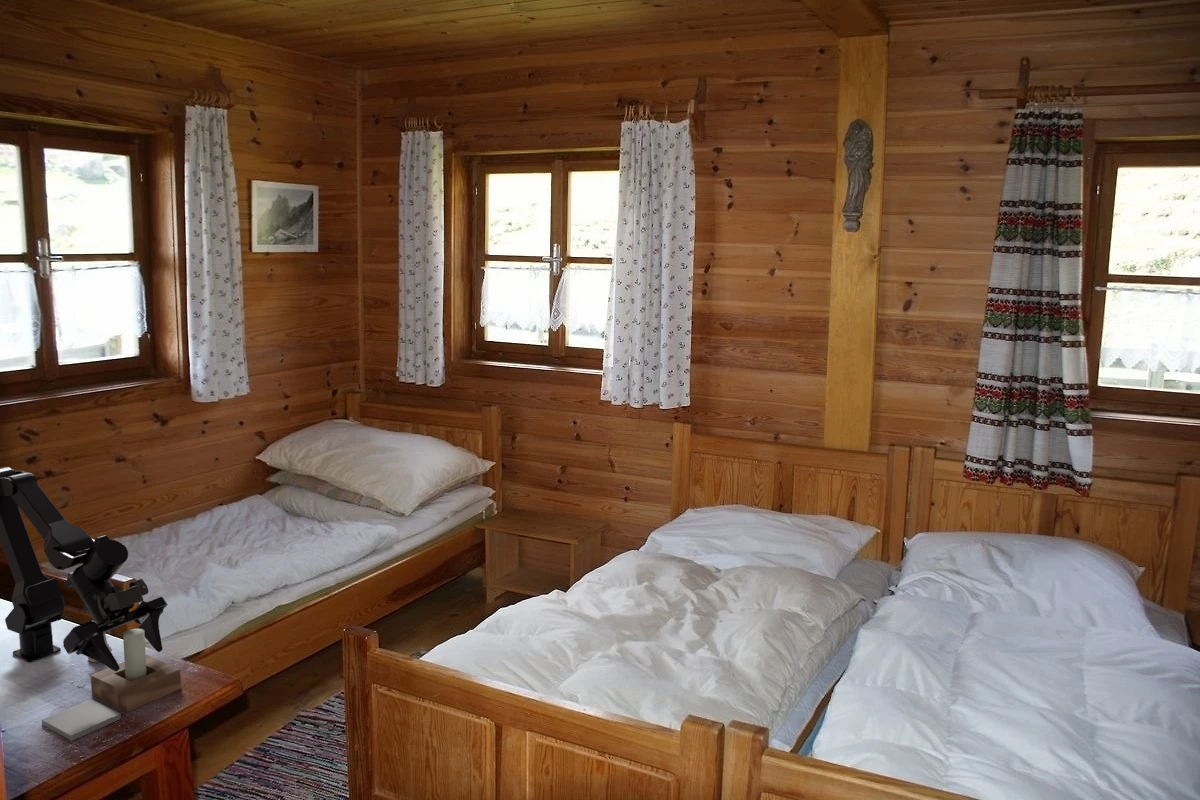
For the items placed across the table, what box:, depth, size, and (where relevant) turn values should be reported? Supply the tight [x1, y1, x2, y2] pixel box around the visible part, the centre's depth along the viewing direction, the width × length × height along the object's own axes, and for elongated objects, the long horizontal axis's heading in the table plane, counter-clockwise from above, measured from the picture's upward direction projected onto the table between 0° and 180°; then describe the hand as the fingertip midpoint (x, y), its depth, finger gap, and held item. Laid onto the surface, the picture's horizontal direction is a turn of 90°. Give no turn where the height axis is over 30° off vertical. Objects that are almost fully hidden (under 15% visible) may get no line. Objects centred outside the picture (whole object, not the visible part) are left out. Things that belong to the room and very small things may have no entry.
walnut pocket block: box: [90, 654, 182, 713], centre depth 182 cm, size 11×11×4 cm
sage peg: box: [122, 628, 147, 682], centre depth 182 cm, size 4×4×12 cm
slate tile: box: [41, 698, 122, 742], centre depth 171 cm, size 9×9×1 cm
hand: (139, 660), depth 181 cm, fingers open, 9 cm apart
